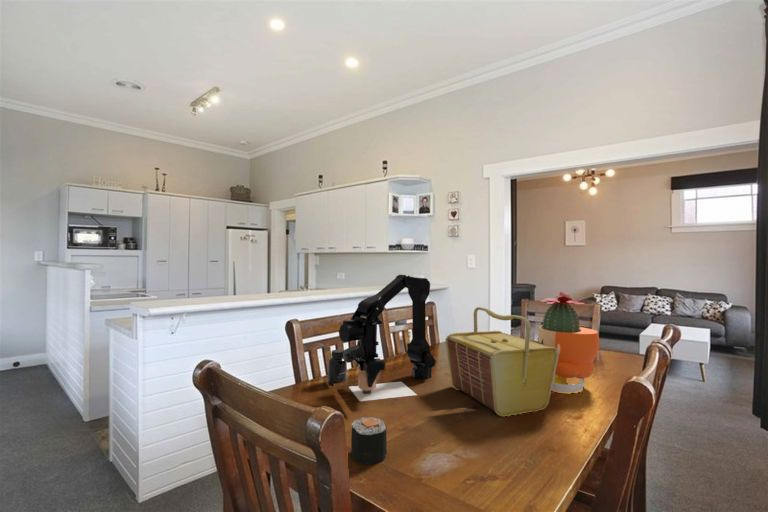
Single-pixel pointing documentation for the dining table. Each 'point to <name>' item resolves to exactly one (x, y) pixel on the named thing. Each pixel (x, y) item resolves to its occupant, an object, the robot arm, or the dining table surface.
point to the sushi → (368, 440)
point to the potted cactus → (568, 342)
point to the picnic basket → (502, 368)
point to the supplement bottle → (337, 367)
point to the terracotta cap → (364, 381)
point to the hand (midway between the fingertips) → (367, 384)
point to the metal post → (366, 391)
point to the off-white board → (383, 391)
